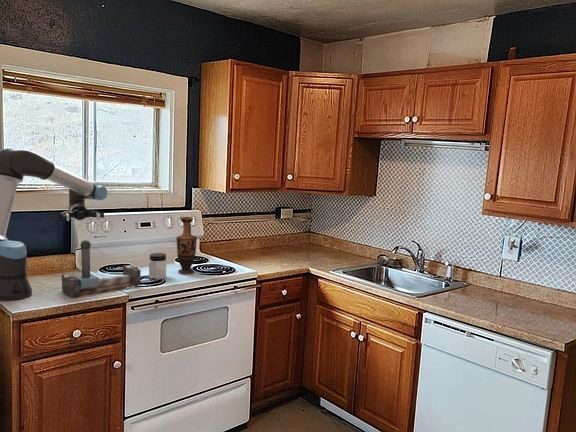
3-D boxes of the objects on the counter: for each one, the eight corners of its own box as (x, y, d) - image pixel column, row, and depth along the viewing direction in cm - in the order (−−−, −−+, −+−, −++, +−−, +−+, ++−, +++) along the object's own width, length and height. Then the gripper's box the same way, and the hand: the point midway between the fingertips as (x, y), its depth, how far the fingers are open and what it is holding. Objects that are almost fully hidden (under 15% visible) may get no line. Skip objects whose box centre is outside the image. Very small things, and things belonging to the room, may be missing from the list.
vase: (192, 275, 256) (192, 219, 252) (172, 274, 258) (173, 218, 254) (199, 271, 267) (200, 216, 263) (180, 269, 269) (181, 215, 265)
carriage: (81, 288, 216) (80, 242, 213) (73, 284, 222) (72, 239, 220) (99, 285, 221) (98, 241, 219) (91, 281, 228) (90, 237, 225)
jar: (151, 280, 245) (151, 256, 243) (146, 276, 252) (146, 253, 250) (168, 278, 250) (169, 255, 248) (163, 274, 257) (163, 252, 255)
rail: (69, 298, 211) (69, 279, 210) (59, 291, 220) (59, 273, 219) (142, 285, 235) (142, 268, 234) (130, 280, 243) (130, 263, 242)
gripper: (104, 218, 255) (111, 224, 237) (52, 219, 243) (54, 226, 225) (104, 204, 254) (111, 209, 236) (51, 205, 242) (54, 210, 224)
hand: (83, 217), depth 230 cm, fingers open, 13 cm apart
